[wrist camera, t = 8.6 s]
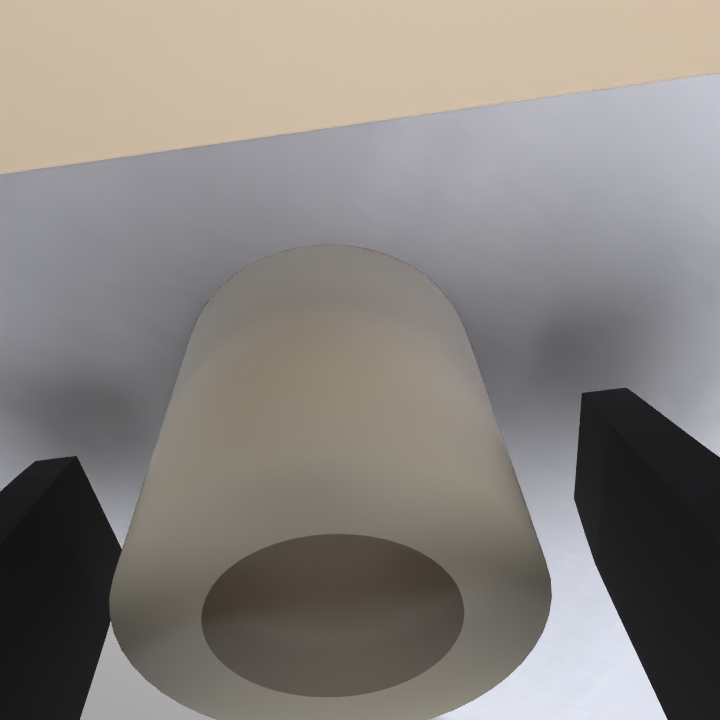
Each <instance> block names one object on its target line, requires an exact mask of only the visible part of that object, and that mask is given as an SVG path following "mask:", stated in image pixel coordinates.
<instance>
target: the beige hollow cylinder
mask: <svg viewBox="0 0 720 720" xmlns="http://www.w3.org/2000/svg"><path fill="white" fill-rule="evenodd" d="M551 598H552V593H551V578H550V575H549V571H548V568H547V564H546V561H545V558H544V555H543V552H542V549H541V546H540V543H539V540H538V538H537V535H536V532H535V529H534V526H533V523H532V520H531V517H530V514H529V512H528V509H527V506H526V503H525V500H524V497H523V494H522V491H521V489H520V486H519V483H518V480H517V477H516V474H515V471H514V468H513V466H512V463H511V460H510V457H509V454H508V451H507V448H506V445H505V443H504V440H503V437H502V434H501V431H500V428H499V425H498V422H497V420H496V417H495V414H494V411H493V408H492V405H491V402H490V399H489V396H488V394H487V391H486V388H485V385H484V382H483V379H482V376H481V373H480V371H479V368H478V365H477V362H476V359H475V356H474V353H473V350H472V348H471V345H470V342H469V339H468V336H467V333H466V330H465V327H464V325H463V323H462V321H461V319H460V316H459V314H458V312H457V310H456V309H455V308H454V306H453V305H452V303H451V302H450V300H449V299H448V297H447V296H446V295H445V294H444V293H443V292H442V291H441V290H440V289H439V287H438V286H437V285H436V284H435V283H433V282H432V281H431V280H430V279H429V278H427V277H426V276H425V275H424V274H422V273H421V272H420V271H418V270H416V269H415V268H413V267H411V266H410V265H408V264H406V263H405V262H402V261H400V260H398V259H396V258H393V257H391V256H389V255H386V254H383V253H380V252H376V251H373V250H369V249H365V248H359V247H353V246H346V245H316V246H305V247H300V248H295V249H290V250H285V251H282V252H279V253H277V254H274V255H271V256H268V257H265V258H263V259H261V260H259V261H257V262H255V263H253V264H251V265H249V266H247V267H246V268H244V269H243V270H241V271H240V272H238V273H237V274H235V275H234V276H232V277H231V278H230V279H229V280H228V281H227V282H226V283H224V284H223V285H222V286H221V287H220V288H219V289H218V290H217V291H216V292H215V294H214V295H213V296H212V297H211V298H210V300H209V301H208V302H207V303H206V305H205V307H204V308H203V310H202V312H201V313H200V315H199V317H198V319H197V321H196V324H195V326H194V329H193V331H192V334H191V337H190V340H189V343H188V346H187V349H186V352H185V355H184V359H183V362H182V365H181V368H180V371H179V374H178V377H177V380H176V383H175V387H174V390H173V393H172V396H171V399H170V402H169V405H168V408H167V412H166V415H165V418H164V421H163V424H162V427H161V430H160V433H159V436H158V440H157V443H156V446H155V449H154V452H153V455H152V458H151V461H150V464H149V468H148V471H147V474H146V477H145V480H144V483H143V486H142V489H141V493H140V496H139V499H138V502H137V505H136V508H135V511H134V514H133V517H132V521H131V524H130V527H129V530H128V533H127V536H126V539H125V542H124V545H123V549H122V552H121V555H120V558H119V561H118V564H117V567H116V570H115V573H114V577H113V581H112V586H111V591H110V596H109V603H110V618H111V623H112V627H113V631H114V634H115V636H116V639H117V641H118V643H119V645H120V647H121V650H122V651H123V652H124V654H125V655H126V656H127V658H128V660H129V661H130V663H131V664H132V665H133V667H134V668H135V669H137V671H138V672H139V673H140V674H141V675H142V676H143V677H144V678H145V679H146V680H147V681H148V682H150V683H151V684H152V685H153V686H155V687H156V688H157V689H158V690H160V691H161V692H162V693H164V694H165V695H167V696H169V697H170V698H172V699H173V700H175V701H177V702H178V703H180V704H182V705H184V706H186V707H188V708H190V709H192V710H194V711H196V712H198V713H200V714H203V715H206V716H208V717H211V718H214V719H216V720H429V719H432V718H435V717H437V716H440V715H442V714H445V713H448V712H450V711H453V710H455V709H457V708H459V707H461V706H463V705H465V704H467V703H469V702H471V701H473V700H475V699H476V698H478V697H480V696H481V695H483V694H484V693H486V692H488V691H489V690H491V689H492V688H494V687H495V686H496V685H498V684H499V683H500V682H501V681H503V680H504V679H505V678H507V677H508V676H509V675H510V674H511V673H512V672H513V671H514V670H515V669H516V668H517V667H518V666H519V665H520V664H521V663H522V662H523V661H524V660H525V658H526V657H527V656H528V655H529V653H530V652H531V651H532V650H533V648H534V647H535V645H536V643H537V641H538V640H539V638H540V636H541V634H542V633H543V630H544V628H545V625H546V622H547V619H548V616H549V612H550V605H551Z"/></svg>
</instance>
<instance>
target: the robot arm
mask: <svg viewBox="0 0 720 720" xmlns="http://www.w3.org/2000/svg"><path fill="white" fill-rule="evenodd" d="M574 500H575V503H576V506H577V509H578V513H579V516H580V519H581V522H582V525H583V529H584V532H585V535H586V538H587V541H588V544H589V547H590V550H591V553H592V556H593V559H594V562H595V564H596V566H597V569H598V571H599V573H600V575H601V578H602V580H603V582H604V584H605V586H606V588H607V591H608V593H609V595H610V597H611V599H612V601H613V604H614V606H615V608H616V610H617V612H618V614H619V617H620V619H621V621H622V623H623V625H624V627H625V629H626V632H627V634H628V636H629V638H630V640H631V642H632V644H633V647H634V649H635V651H636V653H637V655H638V657H639V659H640V661H641V664H642V666H643V668H644V670H645V672H646V674H647V676H648V679H649V681H650V683H651V685H652V687H653V689H654V691H655V693H656V696H657V698H658V700H659V702H660V704H661V706H662V708H663V711H664V713H665V715H666V717H667V719H668V720H720V457H718V456H717V455H716V454H714V453H713V452H712V451H710V450H709V449H707V448H706V447H705V446H703V445H702V444H701V443H699V442H698V441H697V440H695V439H694V438H693V437H691V436H690V435H689V434H687V433H686V432H685V431H683V430H682V429H681V428H679V427H678V426H677V425H675V424H674V423H673V422H671V421H670V420H669V419H667V418H666V417H665V416H663V415H662V414H661V413H660V412H658V411H657V410H656V409H654V408H653V407H652V406H650V405H649V404H648V403H646V402H645V401H644V400H642V399H641V398H640V397H638V396H637V395H636V394H634V393H633V392H631V391H630V390H629V389H627V388H620V389H612V390H604V391H596V392H588V393H582V399H581V413H580V426H579V439H578V452H577V466H576V479H575V492H574ZM121 552H122V549H121V547H120V545H119V543H118V540H117V538H116V536H115V534H114V532H113V530H112V528H111V526H110V524H109V522H108V520H107V518H106V516H105V514H104V512H103V509H102V507H101V505H100V503H99V501H98V499H97V497H96V495H95V493H94V491H93V489H92V487H91V485H90V483H89V480H88V478H87V476H86V474H85V472H84V470H83V468H82V466H81V464H80V462H79V460H78V458H77V456H73V457H65V458H57V459H49V460H41V461H35V462H34V463H33V464H31V465H30V466H29V467H28V468H27V469H25V470H24V471H23V472H22V473H21V474H19V475H18V476H17V477H16V478H15V479H14V480H13V481H12V482H10V483H9V484H8V485H7V486H6V487H5V488H4V489H3V490H2V491H1V492H0V720H80V717H81V714H82V711H83V707H84V705H85V701H86V698H87V695H88V692H89V689H90V686H91V683H92V679H93V677H94V673H95V670H96V667H97V664H98V660H99V657H100V654H101V651H102V647H103V645H104V641H105V638H106V635H107V631H108V628H109V625H110V621H111V618H110V603H109V596H110V591H111V586H112V581H113V577H114V573H115V570H116V567H117V564H118V561H119V558H120V555H121Z"/></svg>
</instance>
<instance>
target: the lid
mask: <svg viewBox="0 0 720 720" xmlns="http://www.w3.org/2000/svg"><path fill="white" fill-rule="evenodd" d="M715 73H720V0H0V174H7V173H14V172H21V171H28V170H35V169H42V168H49V167H56V166H63V165H70V164H77V163H84V162H92V161H99V160H106V159H113V158H120V157H127V156H134V155H141V154H148V153H155V152H162V151H169V150H177V149H184V148H191V147H198V146H205V145H212V144H219V143H226V142H233V141H240V140H247V139H254V138H262V137H269V136H276V135H283V134H290V133H297V132H304V131H311V130H318V129H325V128H332V127H339V126H347V125H354V124H361V123H368V122H375V121H382V120H389V119H396V118H403V117H410V116H417V115H424V114H432V113H439V112H446V111H453V110H460V109H467V108H474V107H481V106H488V105H495V104H502V103H509V102H516V101H524V100H531V99H538V98H545V97H552V96H559V95H566V94H573V93H580V92H587V91H594V90H601V89H609V88H616V87H623V86H630V85H637V84H644V83H651V82H658V81H665V80H672V79H679V78H686V77H694V76H701V75H708V74H715Z"/></svg>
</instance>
